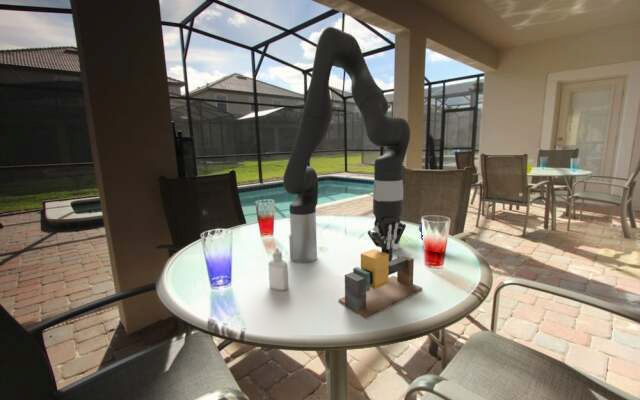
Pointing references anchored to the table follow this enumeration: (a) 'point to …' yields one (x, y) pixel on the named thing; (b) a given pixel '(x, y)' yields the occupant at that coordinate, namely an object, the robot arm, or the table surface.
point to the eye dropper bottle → (278, 272)
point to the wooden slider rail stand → (376, 300)
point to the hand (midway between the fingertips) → (386, 260)
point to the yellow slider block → (376, 266)
